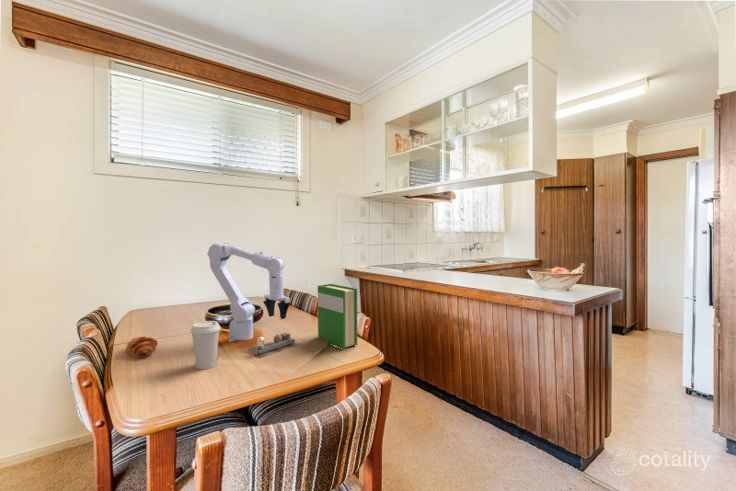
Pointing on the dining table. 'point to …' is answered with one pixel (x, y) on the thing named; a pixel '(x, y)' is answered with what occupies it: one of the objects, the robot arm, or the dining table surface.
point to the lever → (263, 349)
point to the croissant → (141, 347)
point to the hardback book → (337, 315)
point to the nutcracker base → (254, 350)
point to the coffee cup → (205, 343)
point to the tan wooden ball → (278, 338)
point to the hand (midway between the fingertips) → (277, 317)
